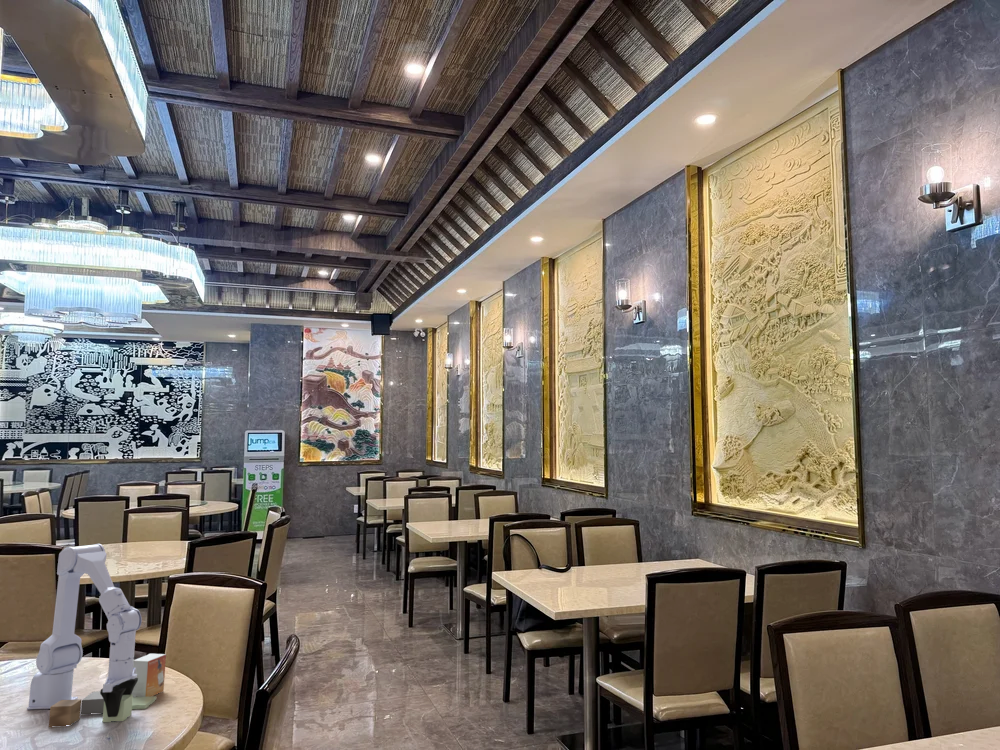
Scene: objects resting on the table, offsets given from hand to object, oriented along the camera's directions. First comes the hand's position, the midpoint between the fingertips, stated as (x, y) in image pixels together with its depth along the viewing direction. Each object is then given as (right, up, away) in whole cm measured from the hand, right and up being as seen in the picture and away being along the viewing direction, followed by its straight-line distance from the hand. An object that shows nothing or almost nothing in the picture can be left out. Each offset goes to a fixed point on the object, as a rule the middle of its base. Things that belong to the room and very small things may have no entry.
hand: (117, 712), depth 173 cm
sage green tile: (0, -3, +10) cm, 10 cm away
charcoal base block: (-8, -3, +6) cm, 11 cm away
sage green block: (0, -1, 0) cm, 1 cm away
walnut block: (-12, -1, -3) cm, 12 cm away
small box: (-2, -4, +18) cm, 18 cm away
